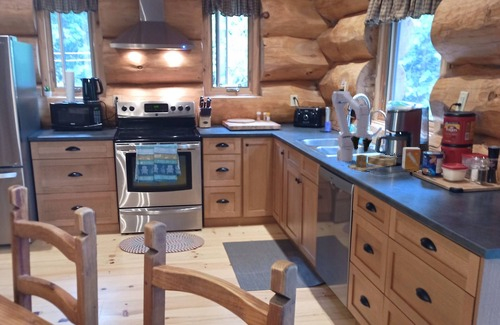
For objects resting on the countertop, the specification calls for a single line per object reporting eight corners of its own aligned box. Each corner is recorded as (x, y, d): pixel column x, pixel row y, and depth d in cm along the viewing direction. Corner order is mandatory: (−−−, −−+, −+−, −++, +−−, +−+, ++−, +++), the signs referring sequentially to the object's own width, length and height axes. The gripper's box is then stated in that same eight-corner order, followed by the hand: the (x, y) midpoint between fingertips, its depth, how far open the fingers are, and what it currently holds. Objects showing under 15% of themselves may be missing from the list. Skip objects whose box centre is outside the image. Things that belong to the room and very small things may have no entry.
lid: (378, 156, 266) (379, 151, 265) (387, 154, 269) (387, 150, 269) (389, 158, 259) (389, 153, 259) (397, 156, 263) (398, 152, 262)
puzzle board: (348, 168, 258) (348, 159, 257) (378, 163, 271) (379, 155, 270) (364, 172, 247) (365, 163, 246) (395, 167, 260) (396, 158, 259)
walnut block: (356, 166, 255) (356, 155, 253) (361, 165, 257) (361, 154, 255) (361, 167, 251) (361, 156, 250) (366, 167, 253) (366, 155, 252)
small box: (404, 172, 247) (405, 148, 245) (401, 169, 254) (402, 146, 251) (419, 172, 247) (420, 149, 244) (416, 169, 253) (417, 146, 250)
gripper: (347, 126, 258) (346, 149, 261) (366, 129, 246) (364, 153, 249) (356, 125, 262) (355, 148, 264) (375, 128, 249) (374, 152, 252)
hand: (360, 150), depth 257 cm, fingers open, 7 cm apart
